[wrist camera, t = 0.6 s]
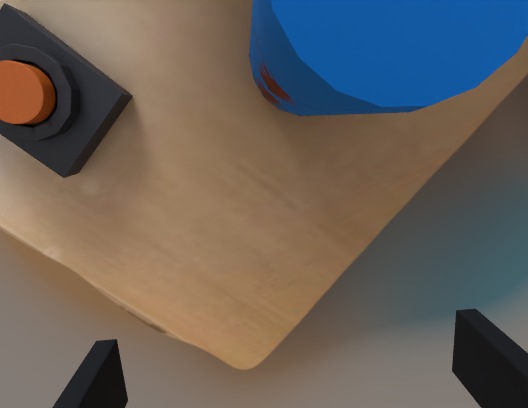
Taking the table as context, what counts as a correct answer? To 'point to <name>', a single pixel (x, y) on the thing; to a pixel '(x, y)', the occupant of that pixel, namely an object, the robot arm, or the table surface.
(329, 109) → the thermos
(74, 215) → the table surface
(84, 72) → the black button base
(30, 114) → the button
